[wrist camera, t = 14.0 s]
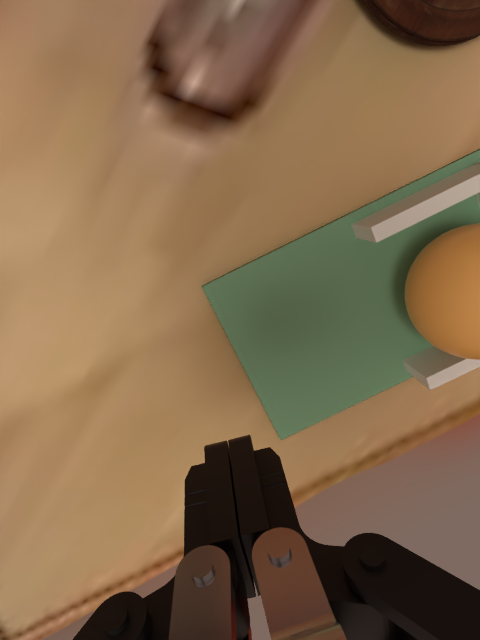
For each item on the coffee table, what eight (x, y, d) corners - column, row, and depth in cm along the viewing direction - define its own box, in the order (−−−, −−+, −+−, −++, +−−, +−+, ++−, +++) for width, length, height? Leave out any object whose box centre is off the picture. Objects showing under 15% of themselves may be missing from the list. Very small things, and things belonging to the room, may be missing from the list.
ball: (592, 375, 27) (546, 307, 35) (575, 226, 23) (529, 190, 31) (423, 395, 31) (418, 330, 39) (388, 272, 28) (391, 230, 36)
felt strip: (280, 437, 39) (280, 440, 39) (201, 285, 34) (201, 286, 34) (536, 314, 38) (540, 315, 38) (492, 142, 34) (495, 142, 33)
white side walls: (406, 371, 38) (430, 390, 34) (350, 224, 34) (371, 227, 30) (523, 314, 38) (561, 327, 34) (482, 159, 34) (519, 154, 30)
